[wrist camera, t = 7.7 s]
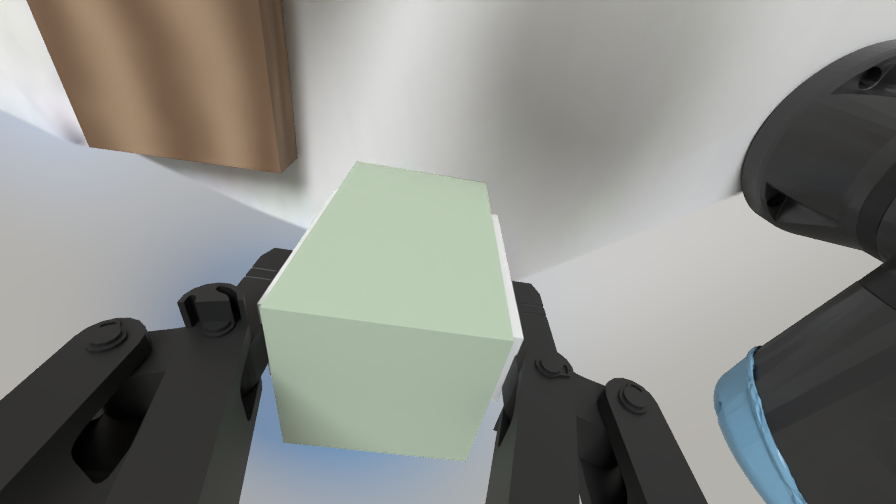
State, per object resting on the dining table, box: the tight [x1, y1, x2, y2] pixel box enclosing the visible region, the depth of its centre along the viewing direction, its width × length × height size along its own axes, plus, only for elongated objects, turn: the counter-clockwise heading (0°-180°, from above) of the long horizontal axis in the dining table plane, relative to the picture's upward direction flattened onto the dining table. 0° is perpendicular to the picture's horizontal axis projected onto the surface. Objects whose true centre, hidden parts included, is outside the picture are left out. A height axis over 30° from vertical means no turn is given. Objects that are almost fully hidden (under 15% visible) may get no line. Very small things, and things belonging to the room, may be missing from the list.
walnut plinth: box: [27, 0, 297, 173], centre depth 25 cm, size 14×14×4 cm
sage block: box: [259, 162, 514, 461], centre depth 12 cm, size 5×5×8 cm
